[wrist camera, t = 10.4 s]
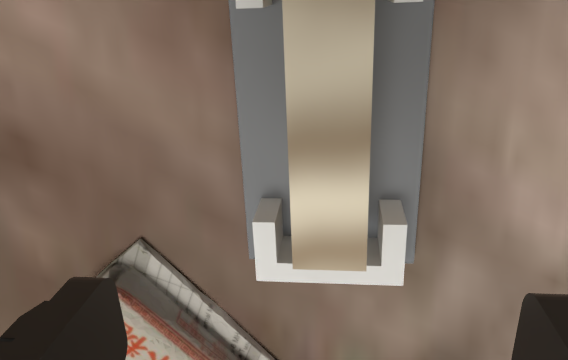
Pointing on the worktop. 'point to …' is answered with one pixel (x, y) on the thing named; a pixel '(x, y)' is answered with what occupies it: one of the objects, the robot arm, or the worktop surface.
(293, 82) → the slat
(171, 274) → the packaged product
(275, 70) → the board
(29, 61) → the worktop surface
